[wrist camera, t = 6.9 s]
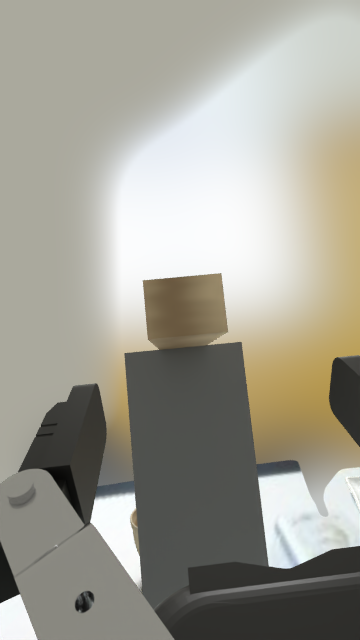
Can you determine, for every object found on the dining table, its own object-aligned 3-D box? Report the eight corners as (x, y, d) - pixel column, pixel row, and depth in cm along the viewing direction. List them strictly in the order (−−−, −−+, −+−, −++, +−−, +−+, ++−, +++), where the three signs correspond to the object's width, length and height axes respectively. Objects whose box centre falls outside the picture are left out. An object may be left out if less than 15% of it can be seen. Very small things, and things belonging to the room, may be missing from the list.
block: (148, 339, 17) (142, 280, 17) (166, 355, 46) (164, 333, 47) (227, 331, 17) (221, 273, 17) (194, 352, 46) (192, 331, 47)
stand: (164, 878, 24) (124, 353, 28) (169, 647, 43) (145, 357, 48) (304, 859, 24) (241, 341, 29) (246, 638, 43) (215, 351, 48)
